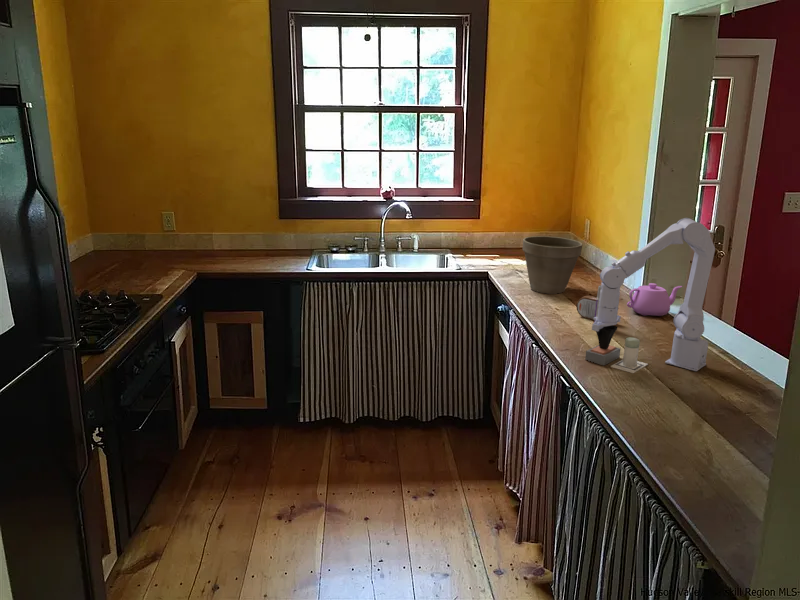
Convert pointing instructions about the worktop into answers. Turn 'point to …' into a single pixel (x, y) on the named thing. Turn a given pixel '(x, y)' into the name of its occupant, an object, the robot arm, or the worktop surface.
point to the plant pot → (550, 262)
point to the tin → (587, 307)
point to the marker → (631, 352)
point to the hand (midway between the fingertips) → (603, 348)
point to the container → (597, 301)
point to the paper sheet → (629, 369)
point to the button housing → (602, 356)
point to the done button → (603, 350)
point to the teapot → (651, 300)
